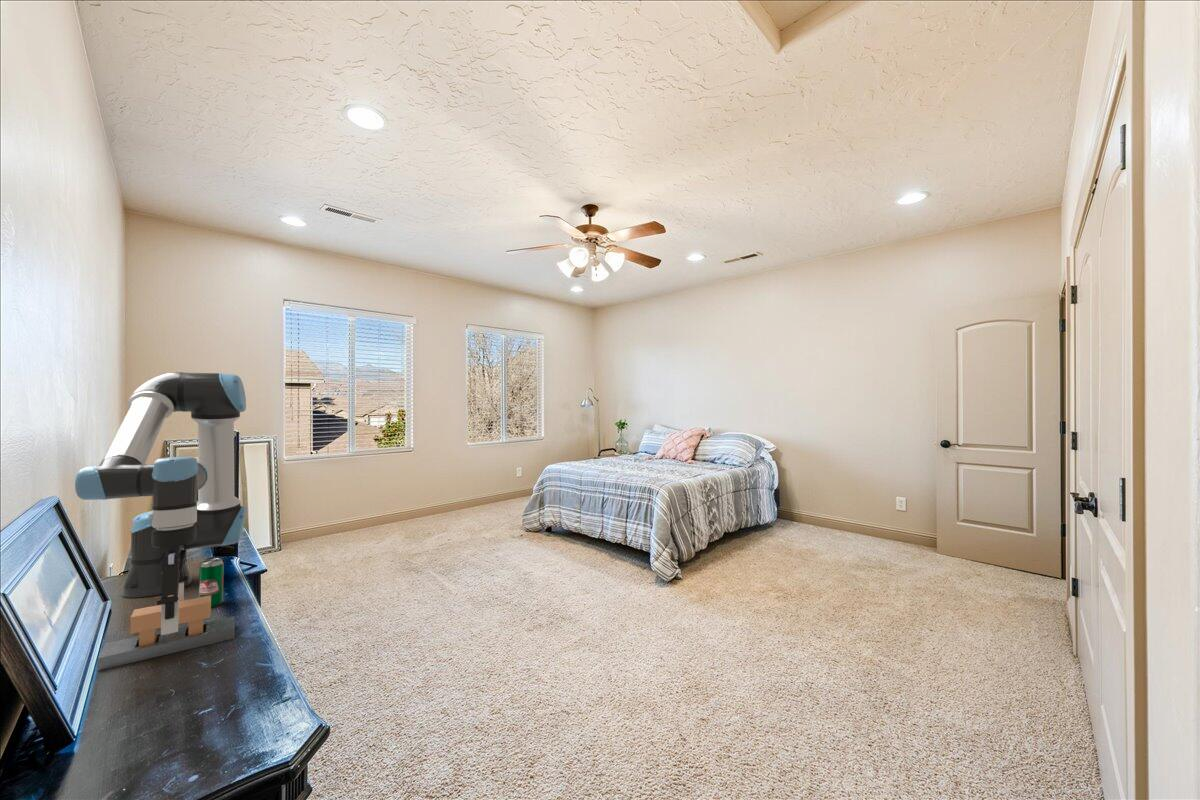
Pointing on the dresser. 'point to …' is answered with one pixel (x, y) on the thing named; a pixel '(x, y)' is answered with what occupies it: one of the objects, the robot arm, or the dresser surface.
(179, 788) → the dresser surface
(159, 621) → the wooden arch block
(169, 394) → the robot arm
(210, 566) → the soda can
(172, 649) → the rail
